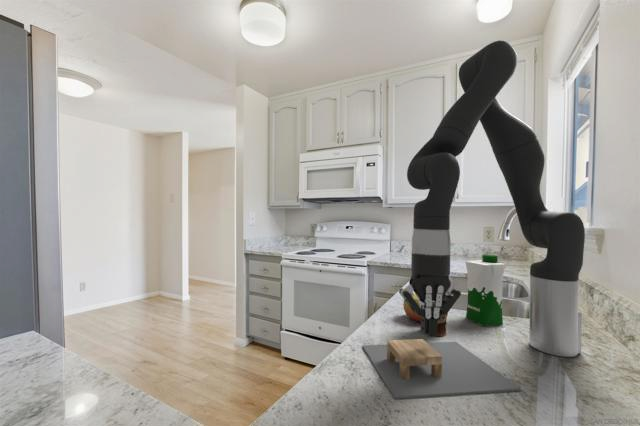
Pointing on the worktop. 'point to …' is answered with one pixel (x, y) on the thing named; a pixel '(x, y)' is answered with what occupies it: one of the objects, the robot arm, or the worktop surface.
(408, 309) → the apple
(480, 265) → the milk carton
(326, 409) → the worktop surface
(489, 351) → the worktop surface
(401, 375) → the wooden bench
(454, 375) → the mat
